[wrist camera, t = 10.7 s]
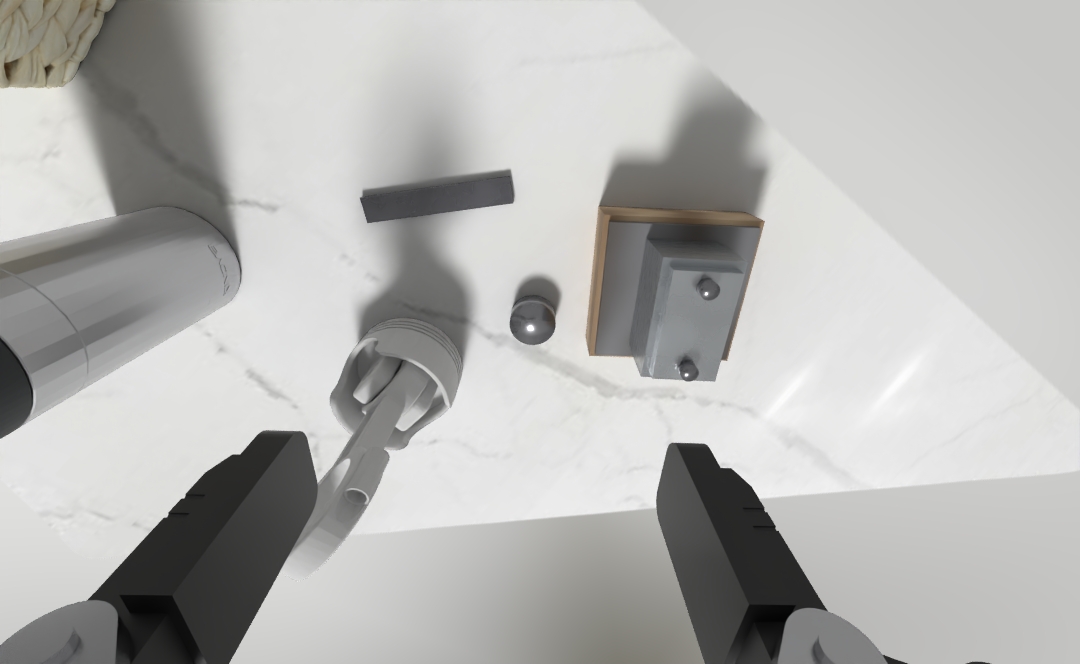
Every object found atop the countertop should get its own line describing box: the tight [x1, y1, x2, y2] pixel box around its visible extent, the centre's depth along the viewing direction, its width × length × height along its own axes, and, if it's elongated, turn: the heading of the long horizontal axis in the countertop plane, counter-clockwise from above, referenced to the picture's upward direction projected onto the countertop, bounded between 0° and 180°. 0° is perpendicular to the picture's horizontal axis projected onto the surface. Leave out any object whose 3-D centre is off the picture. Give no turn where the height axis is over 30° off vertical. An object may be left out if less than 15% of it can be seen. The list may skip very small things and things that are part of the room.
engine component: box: [280, 318, 462, 581], centre depth 33 cm, size 11×20×10 cm
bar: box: [360, 176, 513, 223], centre depth 35 cm, size 12×2×1 cm, turn 98°
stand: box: [586, 206, 765, 361], centre depth 36 cm, size 12×12×4 cm
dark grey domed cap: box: [510, 296, 555, 345], centre depth 39 cm, size 4×4×2 cm
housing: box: [629, 238, 748, 381], centre depth 31 cm, size 9×6×7 cm, turn 177°
